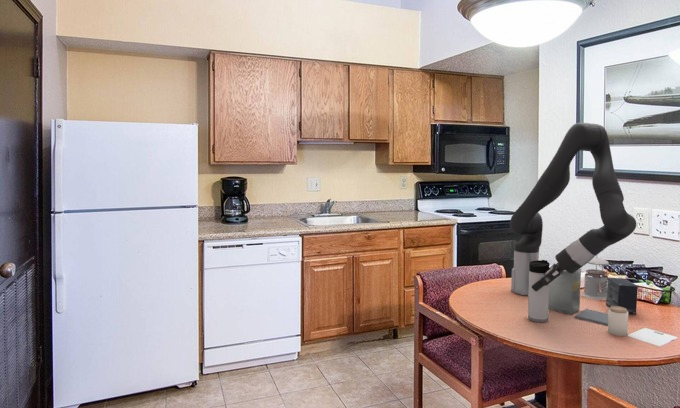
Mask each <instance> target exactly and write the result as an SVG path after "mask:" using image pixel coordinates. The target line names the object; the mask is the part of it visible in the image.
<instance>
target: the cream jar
mask: <svg viewBox="0 0 680 408" xmlns="http://www.w3.org/2000/svg"><path fill="white" fill-rule="evenodd" d="M607 314H608V326H607V333H608V334H610V335H614V336H617V337H619V336H620V337H626V336H628V328H629V327H628V326H629V314H628V311H627V309H626V308H624V307H620V306H611V307H610V308H609V309H608V311H607Z"/></svg>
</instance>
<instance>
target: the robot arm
mask: <svg viewBox="0 0 680 408" xmlns="http://www.w3.org/2000/svg"><path fill="white" fill-rule="evenodd" d="M610 145H611V144H610V140H609V136H608V132H607V130H606V128H605V127H604V126H603V125H601V124H598V123H590V122H589V123H588V122H576V123H574V124H572V125H571V126H570V128H569V129H568V130H567V132H566V133H565V135H564V137H563V139H562V141H561V143H560V145H559V147H558V148H557V151H556V152H555V155H554V156H553V157H552V160H551V161H550V162H549V164H548V165H547V167H546V169H545V170H544V171H543V173H542V174H541V175H540V177H539V179H538V180H537V182H536V183H535V186H534V187H533V188H532V190H531V191H530V193H528V195H527V197H526V198H525V199H524V201H523V202H522V203H521V204H520V205H519V207H518V208H517V209H516V210H515V211H514V212H513V214H512V216H511V218H510V221H509V227H510V230H511V232H513V234H516V235H521V236H522V235H523V236H522V238H521V239H520V240H517V241H516V242H515V243H514V246H513V247H514V249H513V250H514V251H513V268H512V267H511V280H510V281H511V286H510V289H511V292H512V293H515V294H517V295H521V296H528V292H529V263H530V262H532V261H537V260H540V247H541V245H542V240H543V239H542V238H543V228H544V227H543V226H544V225H543V224H544V223H543V217H542V216H541V214H540V213H539V212H540V211H541V210H543V209H544V208H546V207H547V206H548V205H550V204H552V203H553V202H555V201H556V200H557V199H558V198H559V197H560V196H561V195H562V194H563V193H564V191H565V189H566V188H567V187H568V185H569V183H570V179H571V171H570V168H571V167H570V165H571V163H572V161H573V160H574V158H575V157H576V155H577V154H578V153H579V152H580V151H581V152H582V151H583V152H589V153H590V154H591V155H592V157H593V159H594V170H593V175H592V178H591V179H592V180H591V182H592V188H593V192H594V194H595V196H596V197H595V198H596V199H597V202H598V204H599V213H600V218H601V221H602V224H603V225H602V226H600V227H599V228H591V229H589V230H588V231H586V232H585V233H584V234H583V235H581V236H580V237H579V238H578V239H576V240H575V241H573V242H571V243H570V244H569V245H567V246H566V247H564V248H563V249H562V250H560V252H558V253H557V254H556V255H555V260H556V263H553V264H551V266H549V270H548V271H547V272H546V273H544V276H543V277H542V278H540V280H539V281H537V282H536V283H535V284H534V285H532V289H533V290H534V291H538V290H539V289H541V288H542V287H543V286H546V285H548V284H549V283H550V282H553V281H554V280H555V279H556V278H558V277H560V276H561V275H562V274H563V273H564V272H563V271H564V270H566V271H567V272H568V273H571V274H573V273H575V272H576V271H577V270H579V269H582V268H583V267H584V266H585V265H586V264H589V263H588V262H589V261H591V260H592V259H593V258H594V257H597V256H598V255H599V254H600V253H601V252H603V251H604V250H606V249H607V248H608V247H610V246H613V245H615V244H617V243H618V242H621V241H622V240H624V239H625V238H628V237H629V236H630V235H632V234H633V233H634V231H635V230H636V229H637V221H636V219H635V217H634V216H633V215H631V214H629V213H628V212H627V210H626V208H625V206H624V201H625V199H624V197H625V196H624V194H623V191H622V188H621V186H620V183H619V181H618V178H617V175H616V171H615V168H614V164H613V163H614V162H613V156H612V151H611V146H610ZM545 278H547V279H548V281H546V280H545Z"/></svg>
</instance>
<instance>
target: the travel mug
mask: <svg viewBox="0 0 680 408" xmlns="http://www.w3.org/2000/svg"><path fill="white" fill-rule="evenodd" d="M549 268H550V262H549V261H548V260H546V259H541V260H540V259H539V260H537V261H532V262H530V263H529V292H528V295H527V297H528V299H527V300H528V301H527V302H528V303H527V319H528V320H530V321H531V322H535V323H542V324H543V323H546V322H548V321H549V309H548V305H549V284H548V285H546V286H543V287H542V288H541V289H539V290H538V291H534V290H533V289H532V285H534V284H535V283H536V282H537V281H539V280H540V278H542V277H543V276H544V273H546V272H547V271H548V270H549ZM545 280H546V281H548V279H547V278H545Z"/></svg>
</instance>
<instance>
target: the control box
mask: <svg viewBox="0 0 680 408" xmlns="http://www.w3.org/2000/svg"><path fill="white" fill-rule="evenodd" d="M563 272H564V273H563V274H562V275H561V276H560V277H558V278H556V279H555V280H554V281H553V282H550V283H549V305H548V310H550V311H555V312H559V313H563V314H565V315H566V314H567V315H573V314H575V313H577V312H579V311H580V310H581V308H580V307H581V305H580V303H581V286H582V285H581V283H582V279H581V278H582V268H580V269H579V270H577V271H576V272H575V273H573V274H571V273H568V272H567V271H566V270H564V271H563Z"/></svg>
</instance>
